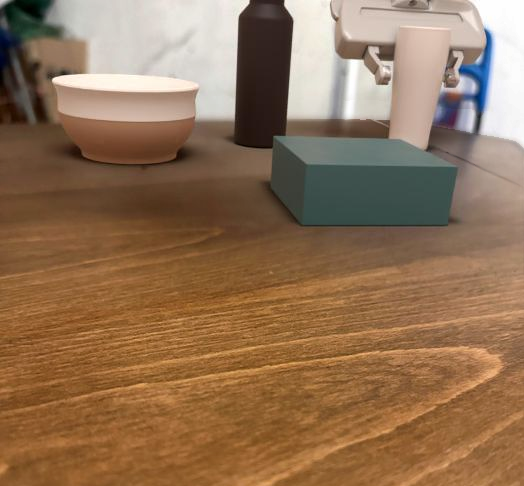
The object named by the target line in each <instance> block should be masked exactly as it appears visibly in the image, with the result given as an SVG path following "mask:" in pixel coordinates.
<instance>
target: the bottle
mask: <svg viewBox="0 0 524 486" xmlns="http://www.w3.org/2000/svg"><path fill="white" fill-rule="evenodd" d="M285 1H286V0H249V1H248V4H247V5H246V6H245V8H244V9H242V11H241V12H240V13H239V15H238V19H237V21H238V22H237V42H236V43H237V44H236V45H237V46H236V47H237V48H236V71H235V73H236V75H235V97H234V98H235V101H234V124H233V125H234V126H233V127H234V128H233V129H234V130H233V140H234V142H235V144H238V145H241V146H245V147H248V148H249V147H250V148H259V149H261V148H262V149H268V148H269V149H271V148H272V149H273V136H287V122H288V108H289V95H290V94H289V93H290V79H291V66H292V65H291V64H292V51H293V37H294V23H295V21H294V17H293V16H292V15H291V13H290V12H289V10H288V9H287V8H286V5H285Z"/></svg>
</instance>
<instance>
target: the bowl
mask: <svg viewBox="0 0 524 486" xmlns="http://www.w3.org/2000/svg"><path fill="white" fill-rule="evenodd" d="M51 83H52V85H53V87H54V89H55V92H56V95H57V111H58V116H59V120H60V124H61V126H62V128H63V129H64V131H65V133H66V135H67V136H68V137H69V139H70V140H71V141H72V142H73V143H74V144H75V145H76V146H77V147H78V148H79V149H80V151H81V156H82V157H84V158H86V159H89V160H91V161H95V162H100V163H108V164H117V165H119V164H120V165H147V164H148V165H151V164H159V163H165V162H169V161H172V160H174V159H175V158H177V153H178V151H179V150H180V149H181V148H182V147H183V146H184V145H185V143H186V142H187V141H188V140H189V138H190V136H191V134H192V132H193V130H194V128H195V123H196V117H197V107H196V99H197V94H198V92H199V91H200V88H201V87H200V84H199V83H197V82H195V81H191V80H188V79H183V78H182V79H181V78H176V77H167V76H157V75H146V74H145V75H144V74H143V75H142V74H126V73H125V74H124V73H79V74H77V73H76V74H66V75H59V76H55V77H53V78H52V80H51Z"/></svg>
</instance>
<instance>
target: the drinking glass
mask: <svg viewBox="0 0 524 486" xmlns="http://www.w3.org/2000/svg"><path fill="white" fill-rule="evenodd" d="M451 32H452V29H449V28H434V27H418V26H401V25H400V26H399V27H398V32H397V38H396V44H395V51H394V60H393V61H392V62H393V63H392V75H391V96H390V114H389V115H390V116H389V130H388V137H387V139H401V140H403V141H405V142H407V143H409V144H412V145H414V146H416V147H418V148H420V149H422V150H424V151H427V149H428V147H429V141H430V137H431V136H430V135H431V130H432V126H433V123H434V118H435V114H436V109H437V106H438V102H439V98H440V95H441V89H442V85H443V78H444V74H446V70H447V60H448V54H449V48H450V41H451Z"/></svg>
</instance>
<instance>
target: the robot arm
mask: <svg viewBox="0 0 524 486" xmlns="http://www.w3.org/2000/svg"><path fill="white" fill-rule="evenodd" d="M329 10H330V16H331V18H332V19H333V20H334V32H333V33H334V34H333V37H334V39H333V41H334V51H335V53H336V55H338V56H339V57H340V59H342V60H354V61H355V60H357V61H363V65H364V67H365V68H367V70H368V71H369V72H370V73H371V74H372V75H373V76H374V80H375V85H377V86H389V83H390V81H392V72H391V65H384V64H383V62H393V60H394V51H395V44H396V38H397V32H398V27H399V26H400V25H401V26H418V27H434V28H449V29H452V32H451V41H450V48H449V54H448V60H447V65H446V70H445V74H444V78H443V82H442V84H443V88H445V89H456V88H457V86H458V85H459V84H460V80H461V77H460V73H459V70H460V68H461V66H472V65H474V64H475V63H476V62H477V61H478V59H479V58H480V57H481V55H482V54H483V52H484V50H485V49H486V47H487V35H486V31H485V27H484V24H483V20H482V18H481V14H480V12H479V9H478V8H477V6H476V5H475V3H473V2H472V1H471V0H330V2H329Z"/></svg>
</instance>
